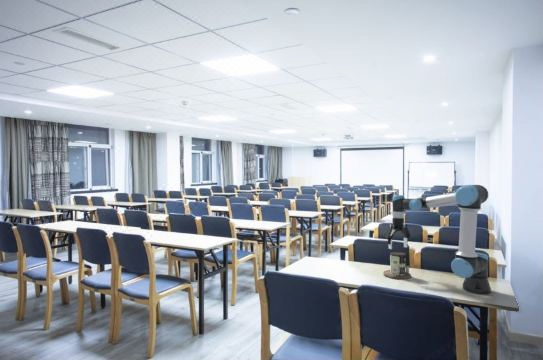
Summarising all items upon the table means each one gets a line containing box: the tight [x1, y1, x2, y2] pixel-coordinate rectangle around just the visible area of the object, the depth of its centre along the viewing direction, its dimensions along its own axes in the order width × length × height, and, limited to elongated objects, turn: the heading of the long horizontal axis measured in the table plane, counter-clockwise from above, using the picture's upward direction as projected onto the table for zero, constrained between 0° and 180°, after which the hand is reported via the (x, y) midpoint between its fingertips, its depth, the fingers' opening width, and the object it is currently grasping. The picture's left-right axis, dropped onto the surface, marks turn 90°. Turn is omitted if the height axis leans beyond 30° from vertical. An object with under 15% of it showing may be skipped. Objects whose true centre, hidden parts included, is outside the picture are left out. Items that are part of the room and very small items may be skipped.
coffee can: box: [389, 251, 407, 276], centre depth 252 cm, size 10×10×14 cm
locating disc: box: [382, 265, 412, 281], centre depth 253 cm, size 18×18×8 cm
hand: (397, 248), depth 252 cm, fingers open, 13 cm apart
